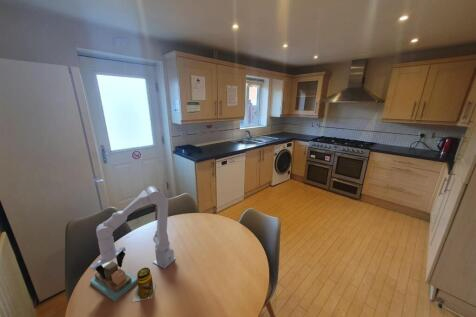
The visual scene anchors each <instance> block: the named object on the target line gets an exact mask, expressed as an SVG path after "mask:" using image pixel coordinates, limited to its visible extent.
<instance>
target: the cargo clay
mask: <svg viewBox="0 0 476 317" xmlns="http://www.w3.org/2000/svg"><path fill="white" fill-rule="evenodd" d="M125 272H126V271H124V270H123V269H122V268H120V269H118V270H117V271H115V272H114V273H113V274H111V276H112V282H114V283H115V284H117V285H118V284H120V283H121V282H122V281H123V280H125V279H126V275H125Z"/></svg>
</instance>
